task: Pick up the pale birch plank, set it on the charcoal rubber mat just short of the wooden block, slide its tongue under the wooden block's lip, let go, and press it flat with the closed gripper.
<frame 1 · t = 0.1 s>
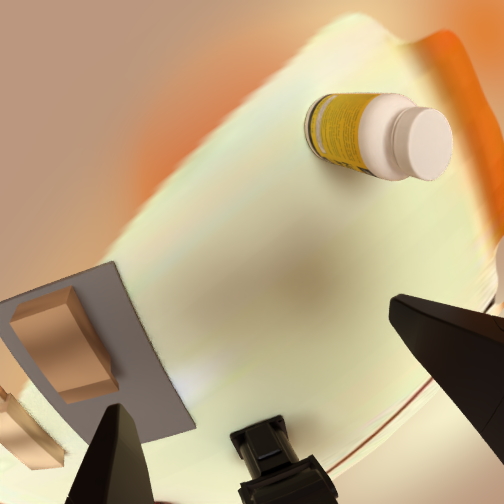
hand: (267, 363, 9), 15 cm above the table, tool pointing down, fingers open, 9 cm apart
supplement bottle: (332, 127, 23), on the table
birch plank: (22, 427, 23), on the table
underlay mat: (98, 380, 24), on the table
wooden block: (65, 328, 22), resting on underlay mat
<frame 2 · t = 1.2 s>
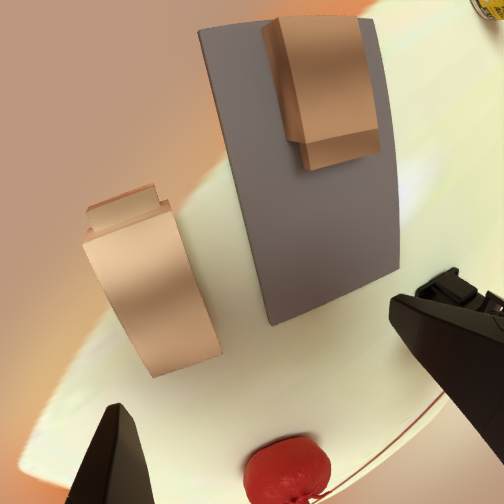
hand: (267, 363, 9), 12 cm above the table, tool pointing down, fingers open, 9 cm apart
birch plank: (155, 286, 20), on the table
pomegranate: (275, 452, 32), on the table
underlay mat: (324, 168, 20), on the table
wooden block: (307, 78, 18), resting on underlay mat
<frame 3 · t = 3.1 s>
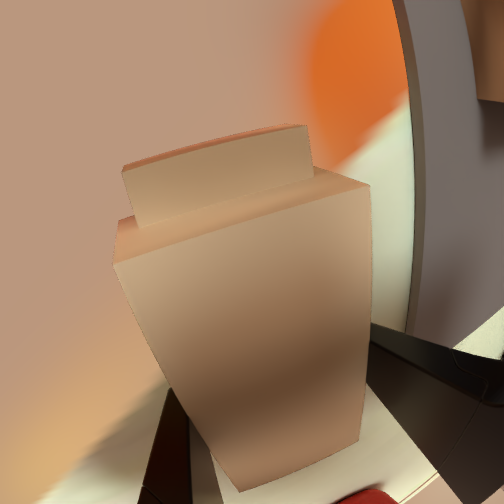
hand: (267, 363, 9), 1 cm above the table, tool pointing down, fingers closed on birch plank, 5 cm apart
birch plank: (255, 342, 10), on the table, touching gripper
underlay mat: (496, 152, 11), on the table
wooden block: (483, 24, 8), resting on underlay mat
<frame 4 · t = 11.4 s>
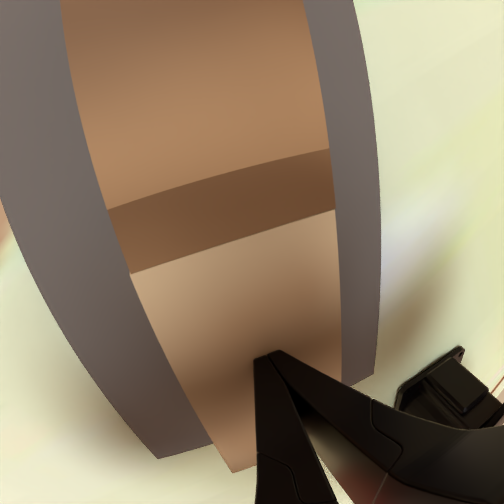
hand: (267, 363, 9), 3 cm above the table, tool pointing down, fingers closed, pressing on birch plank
birch plank: (246, 338, 12), resting on underlay mat, touching gripper
underlay mat: (217, 233, 10), on the table
wooden block: (174, 44, 7), resting on underlay mat
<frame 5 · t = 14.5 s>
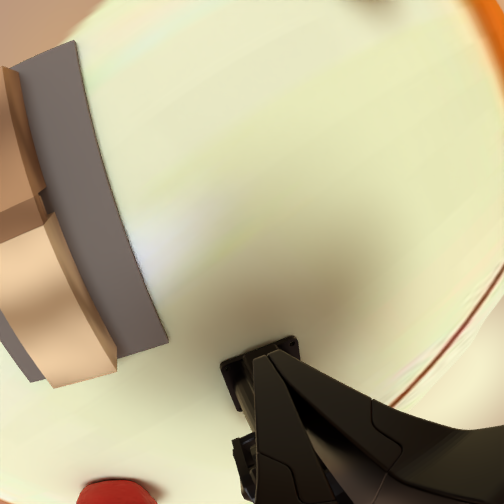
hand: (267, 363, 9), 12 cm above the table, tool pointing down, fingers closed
birch plank: (52, 298, 17), resting on underlay mat
pomegranate: (115, 488, 28), on the table
underlay mat: (29, 238, 16), on the table
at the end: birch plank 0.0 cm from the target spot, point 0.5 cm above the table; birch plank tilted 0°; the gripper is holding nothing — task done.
